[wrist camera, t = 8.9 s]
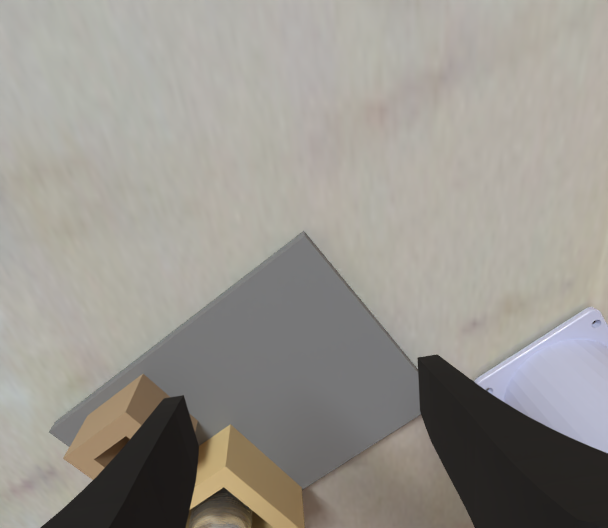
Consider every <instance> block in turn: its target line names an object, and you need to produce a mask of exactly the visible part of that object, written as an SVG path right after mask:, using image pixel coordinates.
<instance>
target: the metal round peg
mask: <svg viewBox="0 0 608 528" xmlns="http://www.w3.org/2000/svg"><path fill="white" fill-rule="evenodd" d="M252 511H253V510H251V509H250V508H249V507H248V506H246V505H245V504H244V503H243V502H241V501H240V500H239V499H238V498H237V497H235V496H234V495H233V494H232V493H230V492H229V491H228V490H227V489H225V488H224V487H223V488H222V489H220V490H219V491H217V492H216V493H214V494H213V495H211V496H210V497H208V498H207V499H205V500H204V501H202V502H201V503H199V504H198V505H196V506H195V507H193V508H192V511H191V516H190V522H189V527H188V528H252Z"/></svg>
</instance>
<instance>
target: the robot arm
mask: <svg viewBox="0 0 608 528" xmlns="http://www.w3.org/2000/svg"><path fill="white" fill-rule="evenodd" d="M595 320H596V321H595ZM594 321H595V323H594V324H592V323H593V322H594ZM418 377H419V400H420V412H421V415H422V418H423V421H424V423H425V426H426V429H427V431H428V434H429V437H430V439H431V442H432V444H433V446H434V448H435V450H436V452H437V454H438V456H439V458H440V459H441V461H442V463H443V465H444V467H445V469H446V471H447V473H448V475H449V477H450V479H451V481H452V483H453V485H454V486H455V488H456V490H457V492H458V494H459V496H460V498H461V500H462V502H463V504H464V506H465V508H466V510H467V512H468V514H469V516H470V518H471V520H472V522H473V524H474V527H475V528H608V325H607V323H606V321H605V319H604V318H603V316H602V314H601V312H600V311H599V310H597V309H596V308H593V307H588V308H586V309H584V310H583V311H581V312H580V313H578V314H576V315H575V316H573V317H572V318H570V319H569V320H567V321H565V322H564V323H562V324H561V325H559V326H558V327H556V328H554V329H553V330H551V331H550V332H548V333H547V334H545V335H544V336H542V337H540V338H539V339H537V340H536V341H534V342H533V343H531V344H529V345H528V346H526V347H525V348H523V349H522V350H520V351H518V352H517V353H515V354H514V355H512V356H511V357H509V358H507V359H506V360H504V361H503V362H501V363H500V364H498V365H497V366H495V367H493V368H492V369H490V370H489V371H487V372H486V373H484V374H482V375H481V376H479V377H478V378H477V379H476V380H475V381H474V382H473V381H472V380H471V379H469V378H468V377H467V376H465V375H464V374H463V373H461V372H460V371H459V370H457V369H456V368H455V367H453V366H452V365H451V364H449V363H448V362H447V361H445V360H444V359H443V358H441V357H440V356H439V355H432V356H425V357H419V358H418ZM487 388H490V389H489V390H487V391H486V389H487ZM198 455H199V444H198V441H197V438H196V434H195V431H194V428H193V424H192V421H191V418H190V414H189V411H188V408H187V404H186V401H185V398H184V395H182V396H176V397H169V398H164V399H163V400H162V401H161V402H160V403H159V405H158V406H157V407H156V408H155V410H154V411H153V412H152V413H151V414H150V416H149V417H148V418H147V419H146V421H145V422H144V423H143V424H142V426H141V427H140V428H139V429H138V430H137V432H136V433H135V434H134V435H133V436H132V438H131V439H130V440H129V441H128V442H127V444H126V445H125V446H124V447H123V448H122V449H121V451H120V452H119V453H118V454H117V455H116V456H115V457H114V458H113V459H112V460H111V461H110V463H109V464H108V465H107V466H106V467H105V468H104V469H103V470H102V471H101V472H100V473H99V475H98V476H97V477H96V478H95V479H94V480H93V481H92V482H91V483H90V484H89V485H88V486H87V487H86V488H85V489H84V490H83V491H82V492H81V493H79V494H78V495H77V496H76V497H75V498H74V499H73V500H72V501H71V502H70V503H69V504H68V505H67V506H66V507H64V508H63V509H62V510H61V511H60V512H59V513H58V514H56V515H55V516H54V517H53V518H52V519H50V520H49V521H48V522H47V523H46V524H44V525H43V526H42V527H41V528H186V523H187V519H188V515H189V510H190V506H191V501H192V497H193V492H194V487H195V483H196V476H197V466H198Z"/></svg>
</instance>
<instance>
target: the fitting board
mask: <svg viewBox="0 0 608 528" xmlns="http://www.w3.org/2000/svg"><path fill="white" fill-rule="evenodd" d="M182 395H184V398H185V401H186V404H187V408H188V411H189V414H190V418H191V421H192V424H193V428H194V431H195V434H196V438H197V441H198V444H199V455H198V466H197V476H196V483H195V487H194V492H193V497H192V501H191V506H190V510H189V515H188V519H187V523H186V528H188V527H189V522H190V516H191V511H192V508H193V507H195V506H196V505H198V504H199V503H201V502H202V501H204V500H205V499H207V498H208V497H210V496H211V495H213V494H214V493H216V492H217V491H219V490H220V489H222V488H223V487H224V488H225V489H227V490H228V491H229V492H230V493H232V494H233V495H234V496H235V497H237V498H238V499H239V500H240V501H241V502H243V503H244V504H245V505H246V506H248V507H249V508H250V509H251V510H253V511H252V528H305V524H304V512H303V499H302V490H303V489H305V488H306V487H308V486H309V485H311V484H312V483H314V482H315V481H317V480H319V479H320V478H322V477H323V476H325V475H326V474H328V473H330V472H331V471H333V470H334V469H336V468H337V467H339V466H341V465H342V464H344V463H345V462H347V461H348V460H350V459H352V458H353V457H355V456H356V455H358V454H359V453H361V452H362V451H364V450H366V449H367V448H369V447H370V446H372V445H373V444H375V443H377V442H378V441H380V440H381V439H383V438H384V437H386V436H388V435H389V434H391V433H392V432H394V431H395V430H397V429H399V428H400V427H402V426H403V425H405V424H406V423H408V422H409V421H411V420H413V419H414V418H416V417H417V416H419V415H420V414H421V412H420V400H419V377H418V369H417V368H416V367H415V366H414V364H413V363H412V362H411V361H410V359H409V358H408V357H407V356H406V355H405V353H404V352H403V351H402V350H401V349H400V347H399V346H398V345H397V344H396V342H395V341H394V340H393V339H392V338H391V336H390V335H389V334H388V333H387V332H386V330H385V329H384V328H383V327H382V325H381V324H380V323H379V322H378V321H377V319H376V318H375V317H374V316H373V314H372V313H371V312H370V311H369V310H368V308H367V307H366V306H365V305H364V304H363V302H362V301H361V300H360V299H359V297H358V296H357V295H356V294H355V293H354V291H353V290H352V289H351V288H350V287H349V285H348V284H347V283H346V282H345V280H344V279H343V278H342V277H341V276H340V274H339V273H338V272H337V271H336V270H335V268H334V267H333V266H332V265H331V263H330V262H329V261H328V260H327V259H326V257H325V256H324V255H323V254H322V253H321V251H320V250H319V249H318V248H317V246H316V245H315V244H314V243H313V242H312V240H311V239H310V238H309V237H308V236H307V234H306V233H305V232H304V231H303V232H302V233H300V234H299V235H298V236H297V237H295V238H294V239H293V240H291V241H290V242H289V243H287V244H286V245H285V246H284V247H282V248H281V249H280V250H278V251H277V252H276V253H274V254H273V255H272V256H271V257H269V258H268V259H267V260H265V261H264V262H263V263H261V264H260V265H259V266H258V267H256V268H255V269H254V270H252V271H251V272H250V273H248V274H247V275H246V276H245V277H243V278H242V279H241V280H239V281H238V282H237V283H235V284H234V285H233V286H232V287H230V288H229V289H228V290H226V291H225V292H224V293H222V294H221V295H220V296H219V297H217V298H216V299H215V300H213V301H212V302H211V303H209V304H208V305H207V306H206V307H204V308H203V309H202V310H200V311H199V312H198V313H196V314H195V315H194V316H192V317H191V318H190V319H189V320H187V321H186V322H185V323H183V324H182V325H181V326H179V327H178V328H177V329H176V330H174V331H173V332H172V333H170V334H169V335H168V336H166V337H165V338H164V339H163V340H161V341H160V342H159V343H157V344H156V345H155V346H153V347H152V348H151V349H150V350H148V351H147V352H146V353H144V354H143V355H142V356H140V357H139V358H138V359H137V360H135V361H134V362H133V363H131V364H130V365H129V366H127V367H126V368H125V369H124V370H122V371H121V372H120V373H118V374H117V375H116V376H114V377H113V378H112V379H111V380H109V381H108V382H107V383H105V384H104V385H103V386H101V387H100V388H99V389H98V390H96V391H95V392H94V393H92V394H91V395H90V396H88V397H87V398H86V399H85V400H83V401H82V402H81V403H79V404H78V405H77V406H75V407H74V408H73V409H72V410H70V411H69V412H68V413H66V414H65V415H64V416H62V417H61V418H60V419H59V420H57V421H56V422H55V423H54V425H53V426H52V428H51V429H50V431H49V433H51V434H52V435H54V436H55V437H56V438H58V439H59V440H60V441H62V442H63V443H65V444H66V445H67V446H69V449H68V451H67V453H66V454H65V456H64V458H63V459H65V460H66V461H67V462H69V463H70V464H72V465H73V466H74V467H76V468H77V469H79V470H80V471H82V472H83V473H84V474H86V475H87V476H89V477H90V478H91V479H93V480H94V479H95V478H96V477H97V476H98V475H99V473H100V472H101V471H102V470H103V469H104V468H105V467H106V466H107V465H108V464H109V463H110V461H111V460H112V459H113V458H114V457H115V456H116V455H117V454H118V453H119V452H120V451H121V449H122V448H123V447H124V446H125V445H126V444H127V442H128V441H129V440H130V439H131V438H132V436H133V435H134V434H135V433H136V432H137V430H138V429H139V428H140V427H141V426H142V424H143V423H144V422H145V421H146V419H147V418H148V417H149V416H150V414H151V413H152V412H153V411H154V410H155V408H156V407H157V406H158V405H159V403H160V402H161V401H162V400H163V399H164V398H169V397H176V396H182Z"/></svg>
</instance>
